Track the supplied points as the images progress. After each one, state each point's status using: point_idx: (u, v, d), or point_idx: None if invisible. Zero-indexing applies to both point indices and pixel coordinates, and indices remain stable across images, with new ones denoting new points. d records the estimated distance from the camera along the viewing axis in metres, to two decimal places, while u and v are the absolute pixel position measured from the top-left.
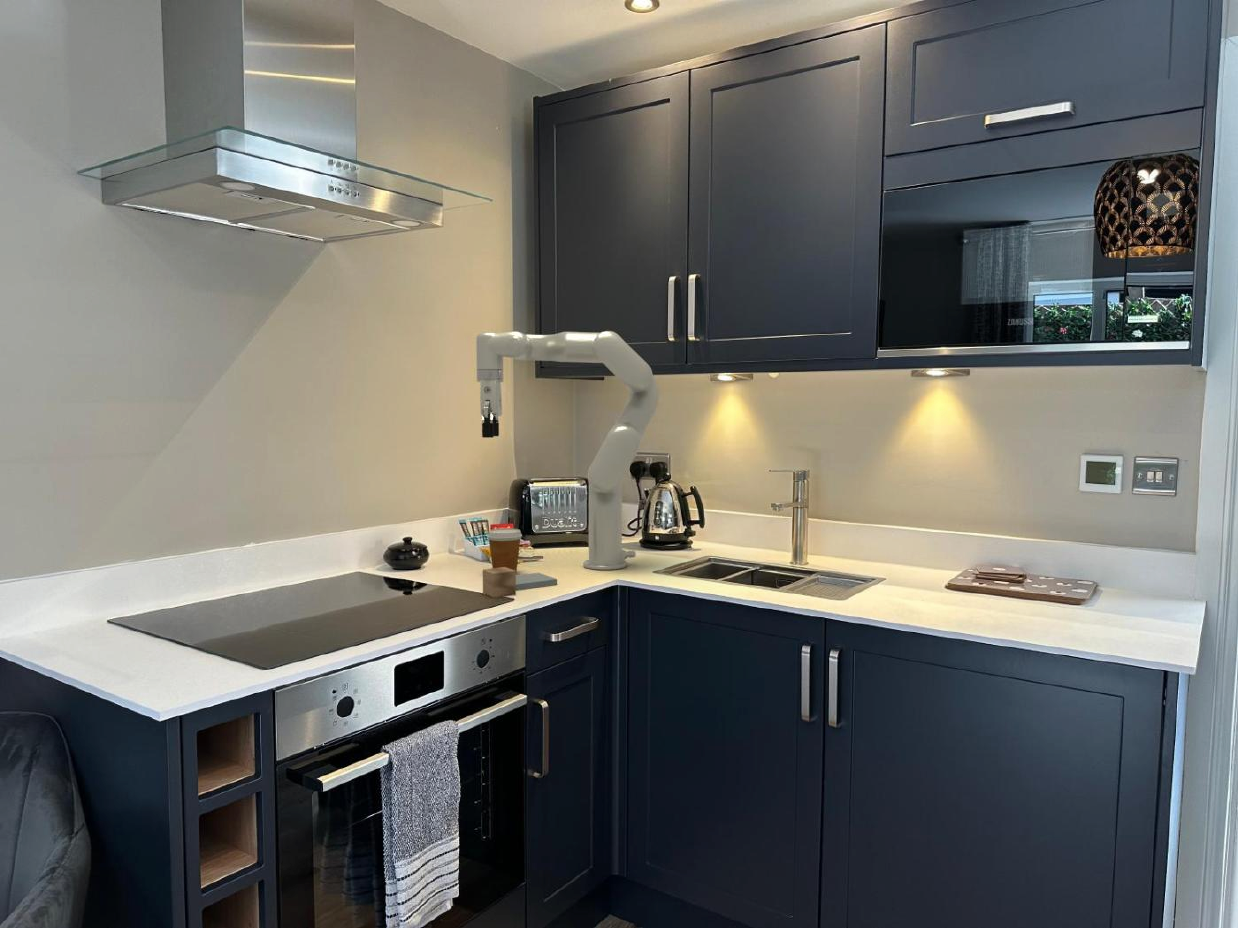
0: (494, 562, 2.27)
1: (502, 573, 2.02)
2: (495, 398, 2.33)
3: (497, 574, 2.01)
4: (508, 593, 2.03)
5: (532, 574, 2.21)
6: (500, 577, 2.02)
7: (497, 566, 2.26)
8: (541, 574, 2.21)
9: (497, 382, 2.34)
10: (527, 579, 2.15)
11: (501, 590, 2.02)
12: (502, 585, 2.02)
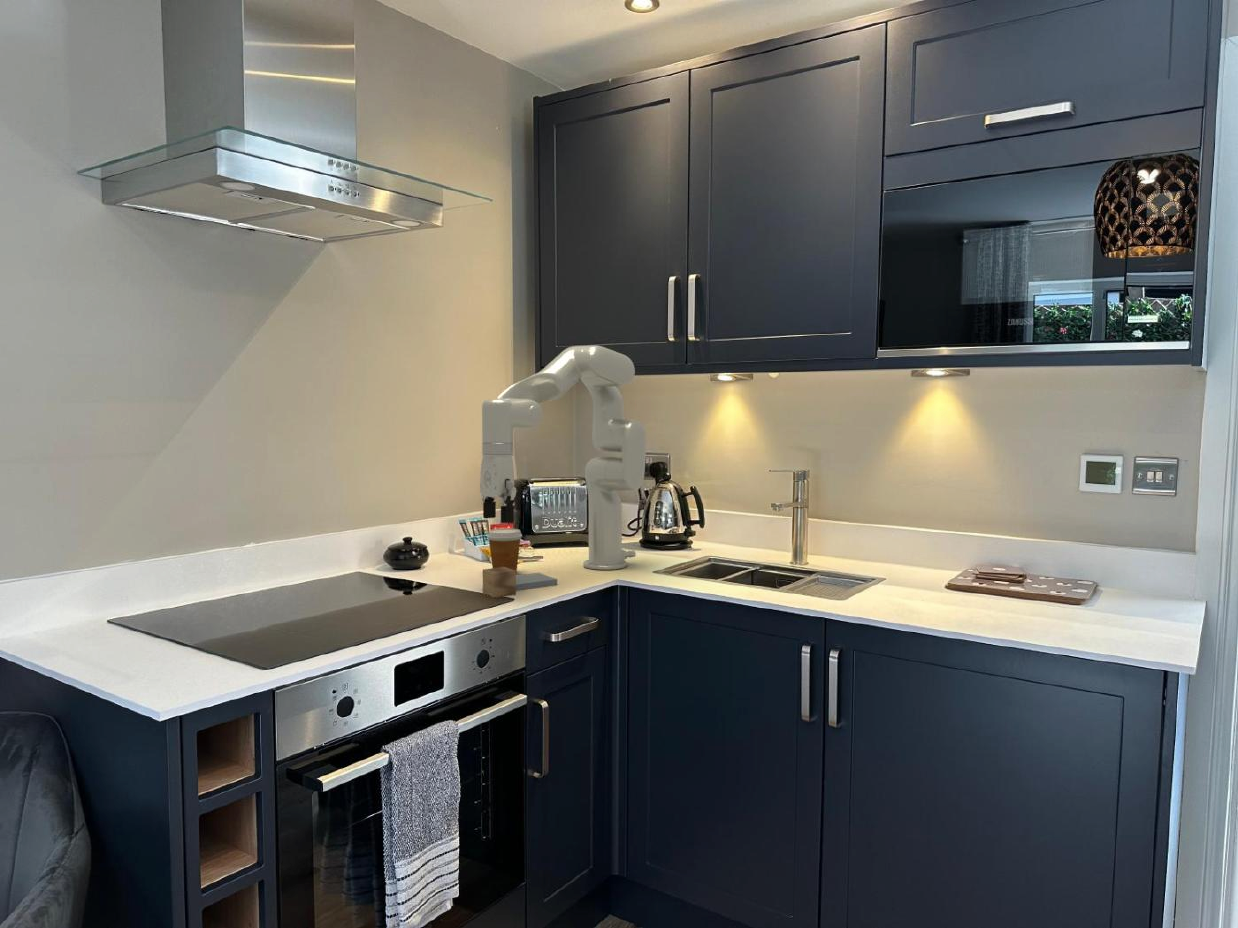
0: (494, 562, 2.27)
1: (502, 573, 2.02)
2: None
3: (497, 574, 2.01)
4: (508, 593, 2.03)
5: (532, 574, 2.21)
6: (500, 577, 2.02)
7: (497, 566, 2.26)
8: (541, 574, 2.21)
9: (483, 457, 2.04)
10: (527, 579, 2.15)
11: (501, 590, 2.02)
12: (502, 585, 2.02)
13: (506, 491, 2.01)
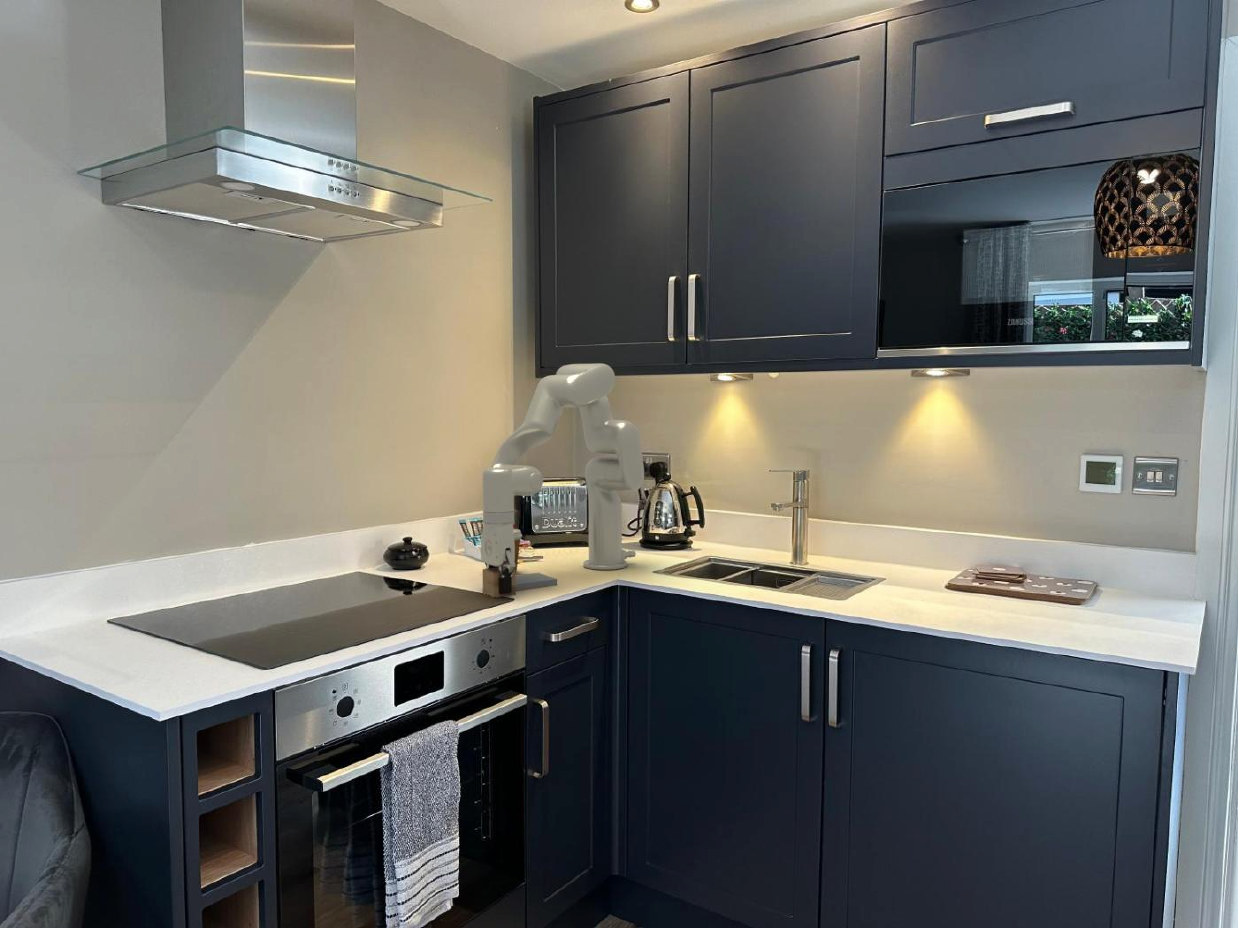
0: None
1: None
2: None
3: (497, 574, 2.01)
4: (508, 593, 2.03)
5: (532, 574, 2.21)
6: (500, 577, 2.02)
7: None
8: (541, 574, 2.21)
9: (484, 524, 2.05)
10: (527, 579, 2.15)
11: None
12: None
13: (506, 560, 2.03)
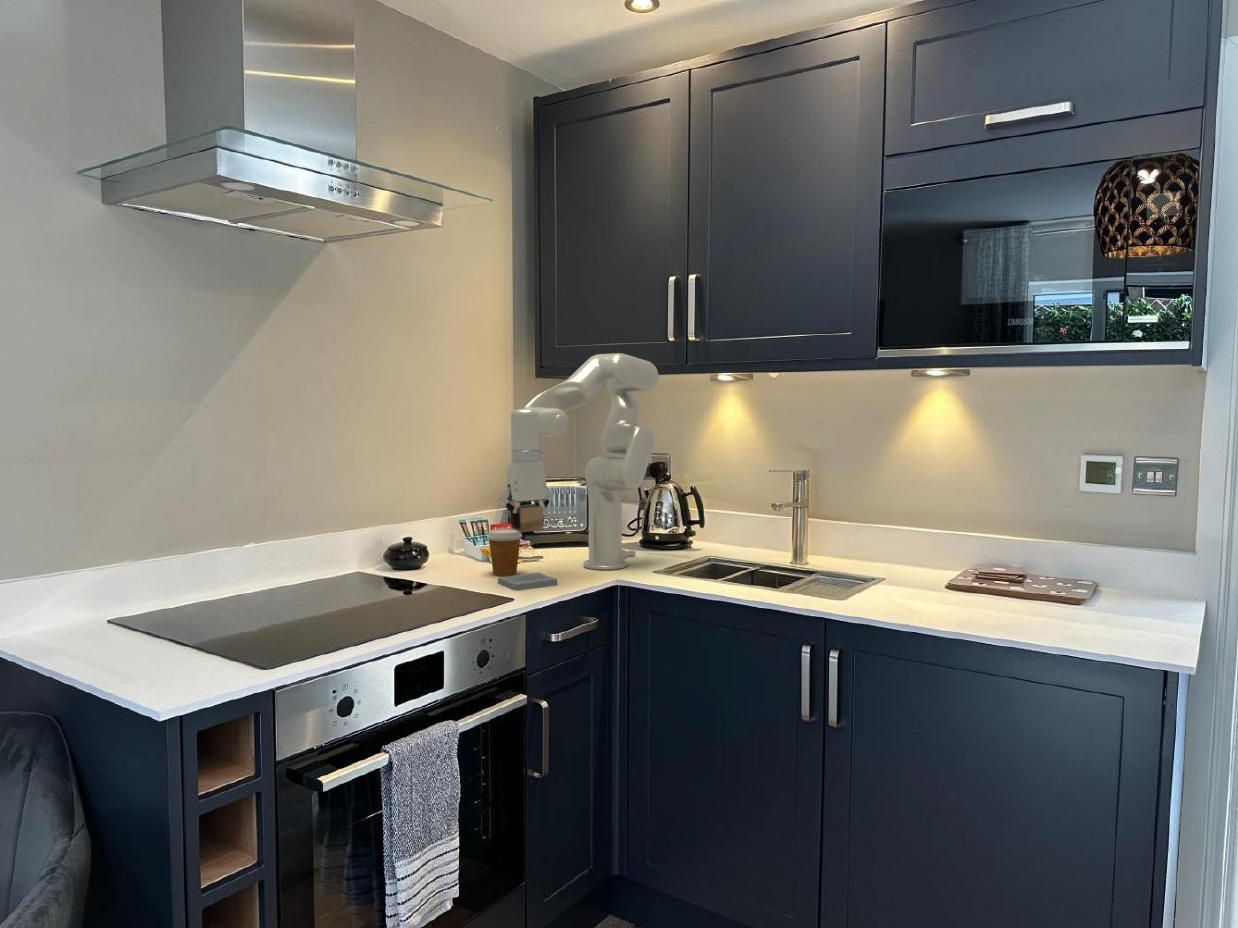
0: (494, 562, 2.27)
1: None
2: None
3: None
4: None
5: (532, 574, 2.21)
6: None
7: (497, 566, 2.26)
8: (541, 574, 2.21)
9: None
10: (527, 579, 2.15)
11: None
12: None
13: None
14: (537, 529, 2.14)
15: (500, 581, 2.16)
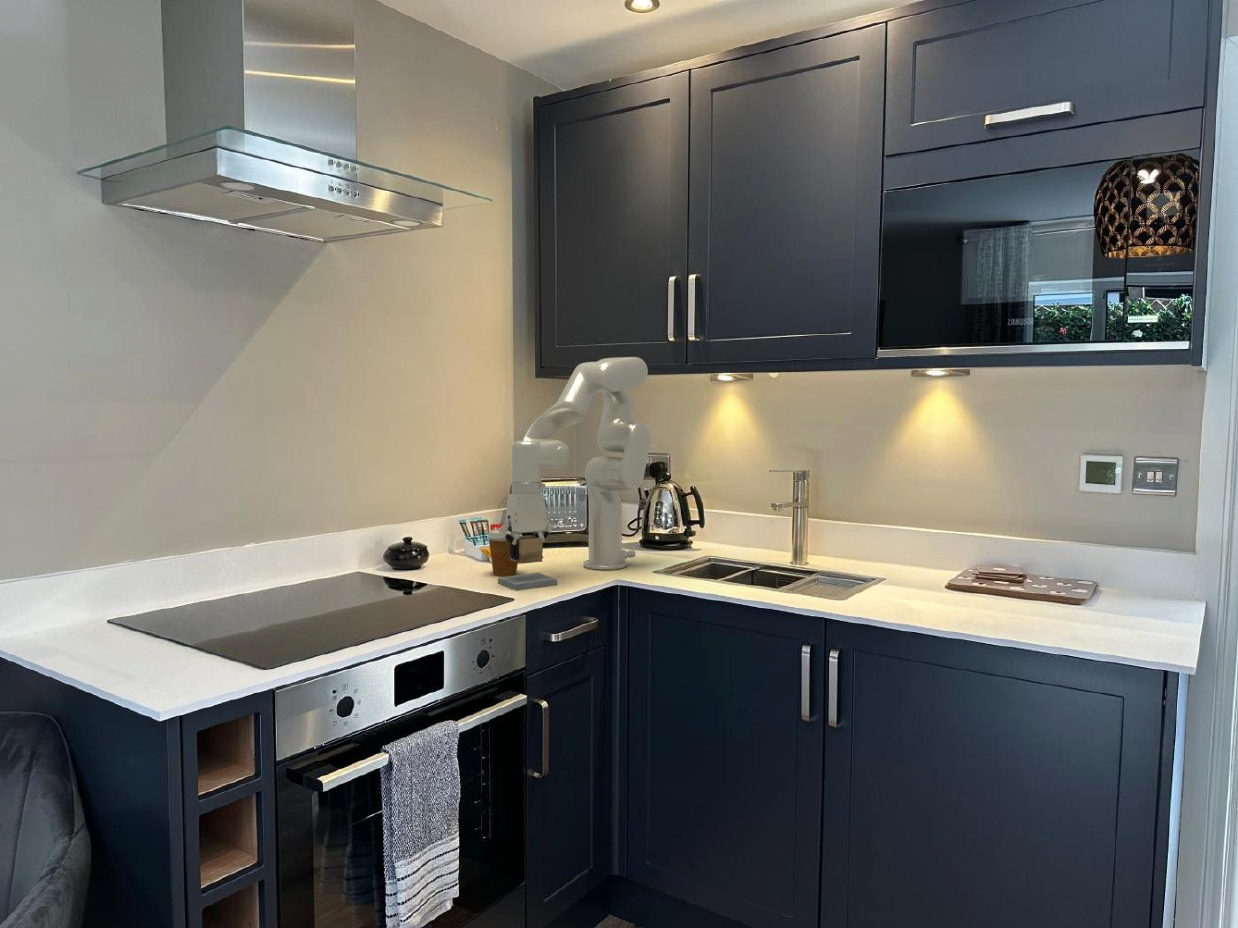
0: (494, 562, 2.27)
1: None
2: None
3: None
4: (517, 560, 2.13)
5: (532, 574, 2.21)
6: None
7: (497, 566, 2.26)
8: (541, 574, 2.21)
9: None
10: (527, 579, 2.15)
11: None
12: None
13: None
14: (536, 561, 2.14)
15: (500, 581, 2.16)
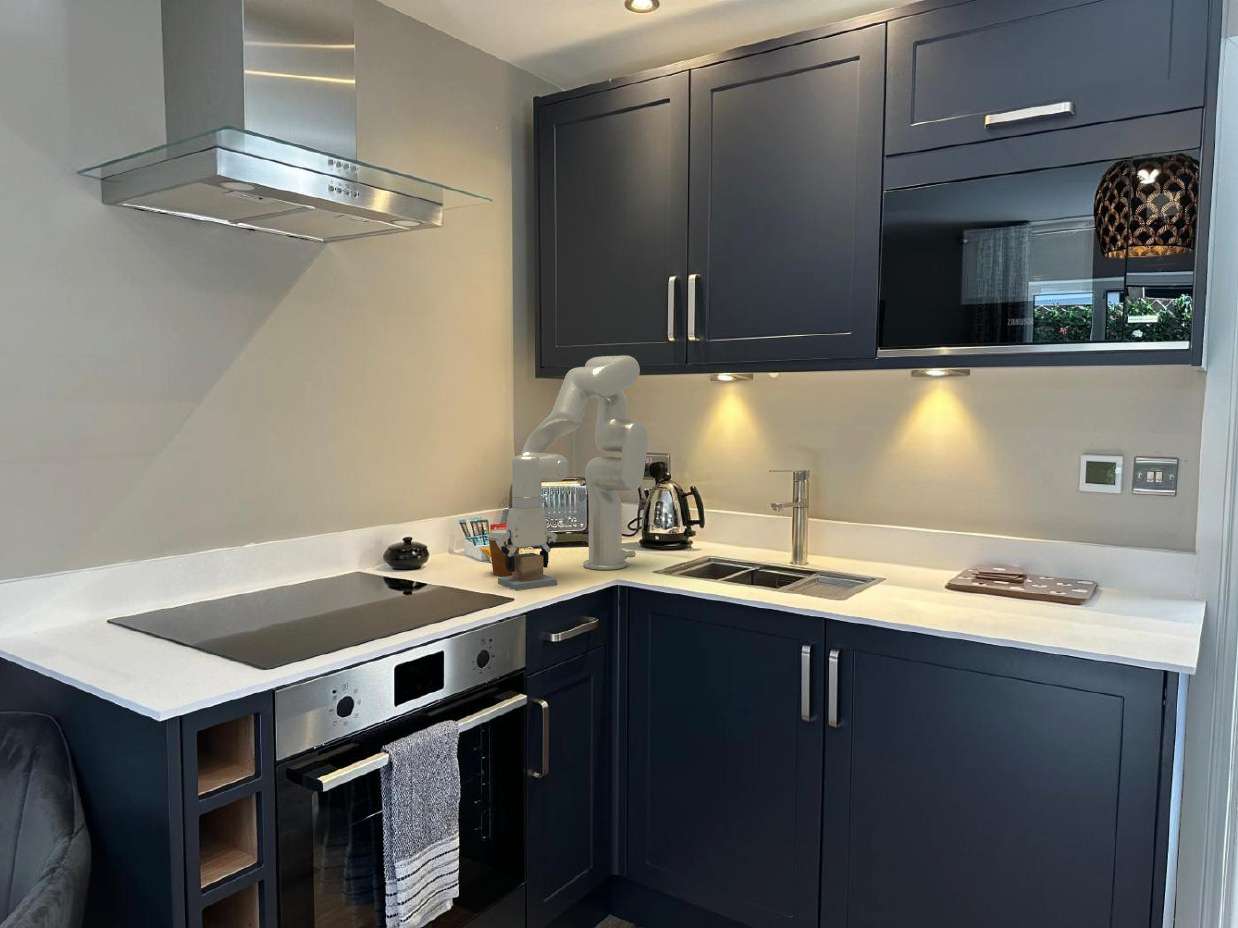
0: (494, 562, 2.27)
1: (516, 557, 2.15)
2: None
3: None
4: (519, 577, 2.14)
5: None
6: (515, 560, 2.15)
7: (497, 566, 2.26)
8: None
9: None
10: None
11: (515, 572, 2.15)
12: (516, 568, 2.15)
13: None
14: (537, 578, 2.15)
15: (500, 581, 2.16)
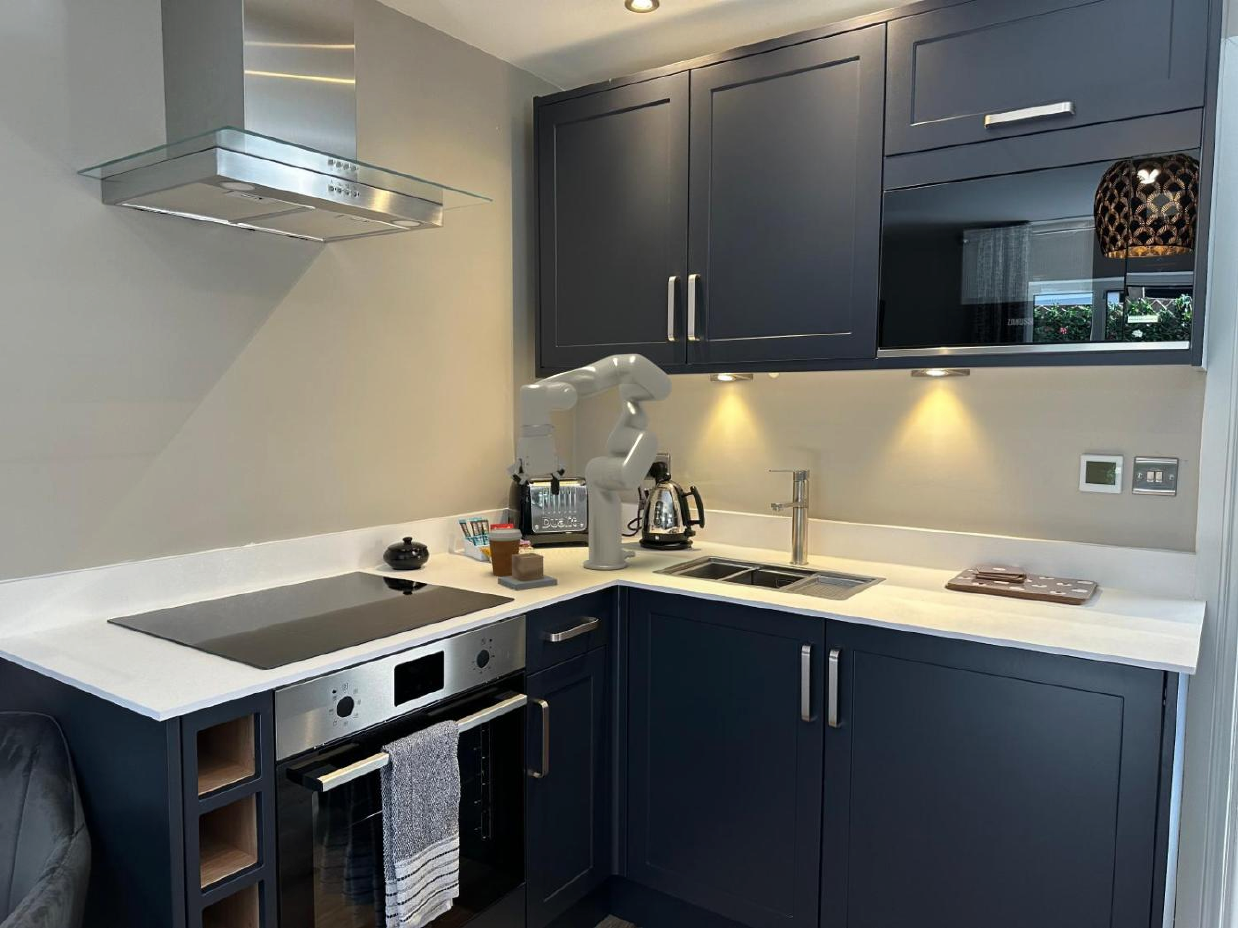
0: (494, 562, 2.27)
1: (516, 557, 2.15)
2: None
3: (513, 556, 2.16)
4: (519, 577, 2.14)
5: None
6: (515, 560, 2.15)
7: (497, 566, 2.26)
8: None
9: None
10: None
11: (515, 572, 2.15)
12: (516, 568, 2.15)
13: None
14: (537, 578, 2.15)
15: (500, 581, 2.16)
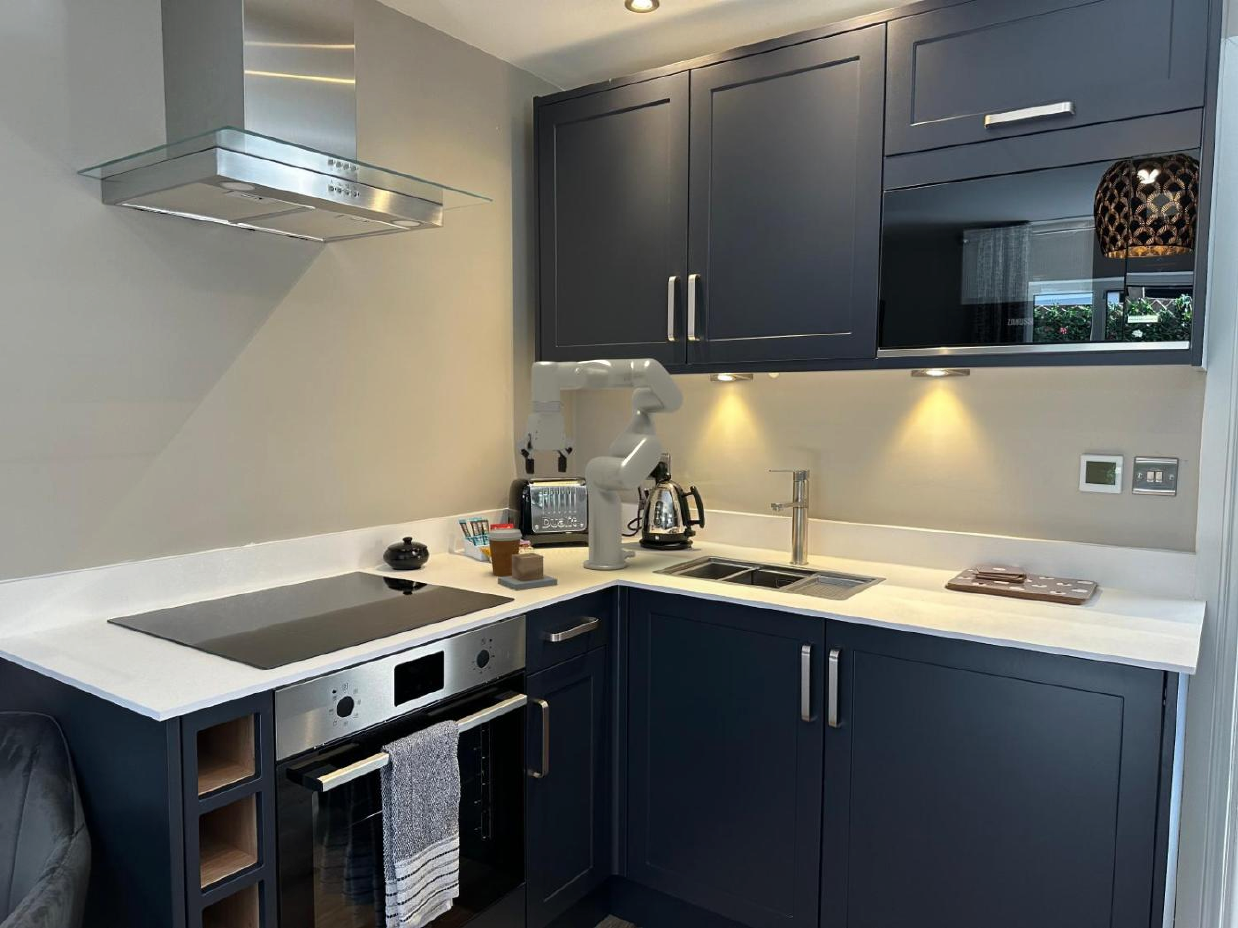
0: (494, 562, 2.27)
1: (516, 557, 2.15)
2: None
3: (513, 556, 2.16)
4: (519, 577, 2.14)
5: None
6: (515, 560, 2.15)
7: (497, 566, 2.26)
8: None
9: None
10: None
11: (515, 572, 2.15)
12: (516, 568, 2.15)
13: None
14: (537, 578, 2.15)
15: (500, 581, 2.16)
